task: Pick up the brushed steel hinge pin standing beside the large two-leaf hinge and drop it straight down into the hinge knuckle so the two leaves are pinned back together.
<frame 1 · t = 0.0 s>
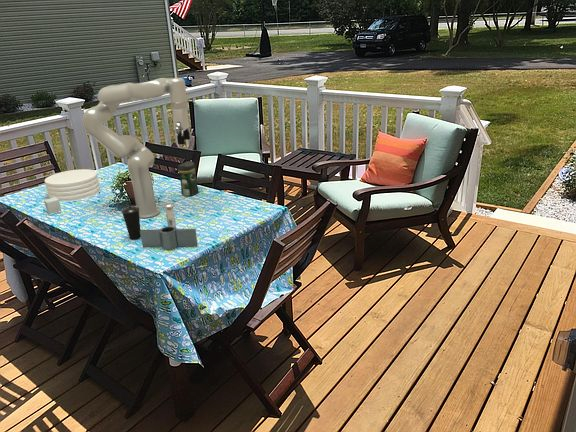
hand: (184, 141, 227), 37 cm above the table, tool pointing down, fingers open, 9 cm apart
hinge: (170, 246, 205), on the table
plate stack: (75, 195, 276), on the table
product box: (54, 213, 250), on the table
hinge pin: (173, 235, 216), on the table
drinking cup: (135, 238, 215), on the table
coffee jar: (190, 194, 268), on the table
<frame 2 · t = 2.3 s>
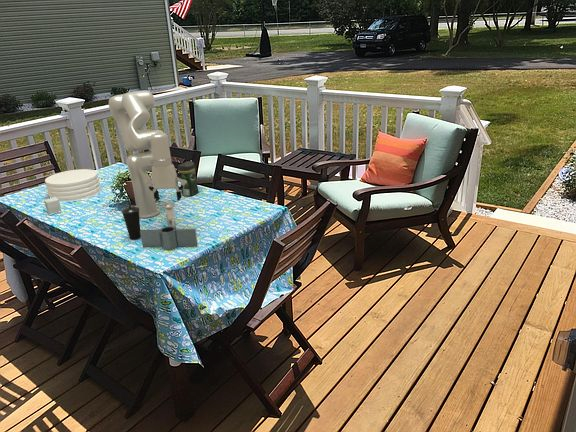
hand: (168, 199, 209), 17 cm above the table, tool pointing down, fingers open, 9 cm apart
nothing on the table moved.
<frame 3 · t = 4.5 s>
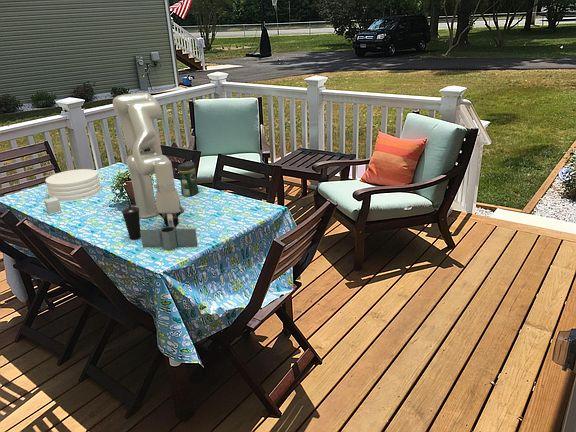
hand: (171, 225, 214), 5 cm above the table, tool pointing down, fingers closed on hinge pin, 3 cm apart
hinge pin: (173, 235, 216), on the table, touching gripper
everything else where it was.
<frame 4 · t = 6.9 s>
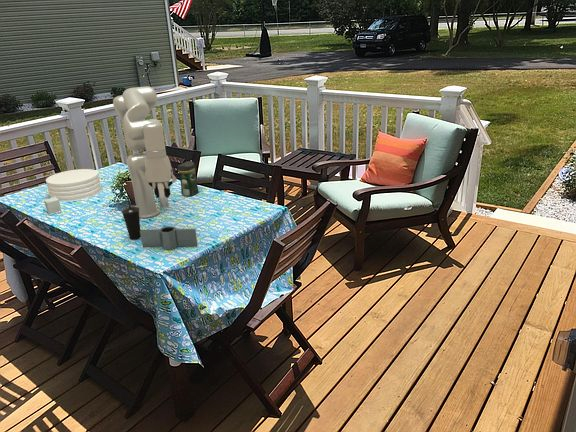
hand: (163, 196, 197), 23 cm above the table, tool pointing down, fingers closed on hinge pin, 3 cm apart
hinge pin: (164, 207, 199), point 18 cm above the table, touching gripper
everything else where it was.
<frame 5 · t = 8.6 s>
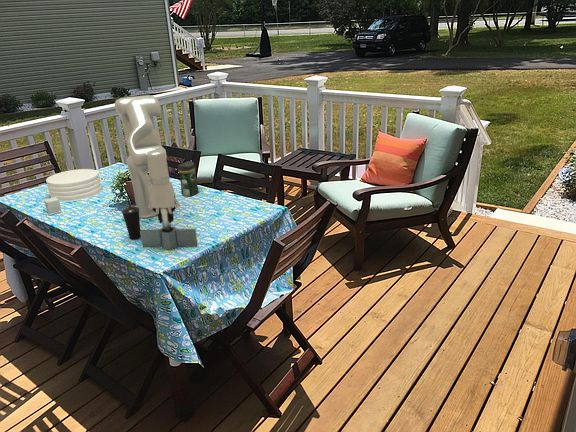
hand: (166, 221, 200), 12 cm above the table, tool pointing down, fingers closed on hinge pin, 3 cm apart
hinge pin: (168, 231, 202), point 7 cm above the table, touching gripper
everything else where it was.
when the fingers open (10 cm above the table, at t = 9.7 s): hinge pin drops 5 cm, resting in hinge.
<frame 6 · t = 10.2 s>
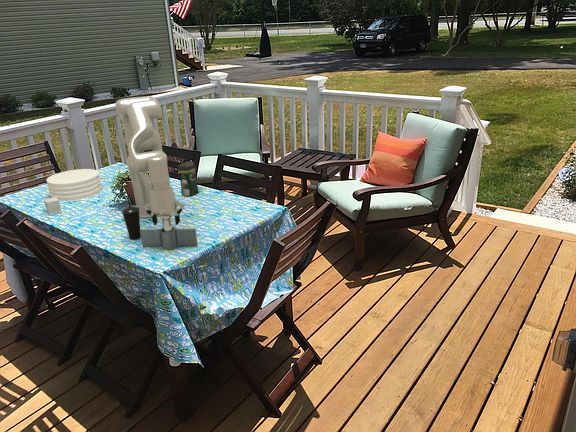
hand: (166, 223, 201), 11 cm above the table, tool pointing down, fingers open, 9 cm apart
hinge pin: (170, 246, 205), resting in hinge
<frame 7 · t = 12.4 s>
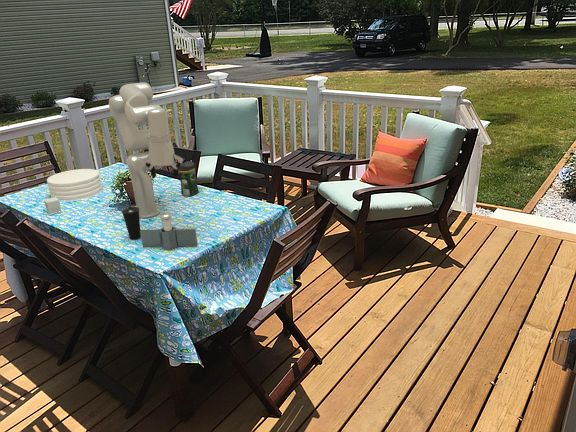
hand: (165, 177, 204), 28 cm above the table, tool pointing down, fingers open, 9 cm apart
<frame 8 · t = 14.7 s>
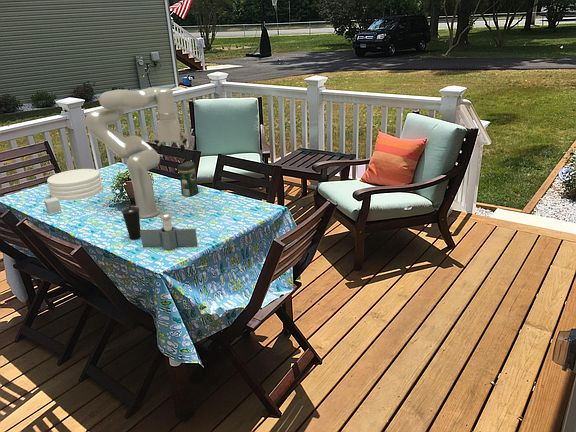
hand: (172, 153, 221), 33 cm above the table, tool pointing down, fingers open, 9 cm apart
at the end: hinge pin 0.2 cm from the hinge (horizontally); hinge pin resting in hinge; hinge pin tilted 0° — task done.
